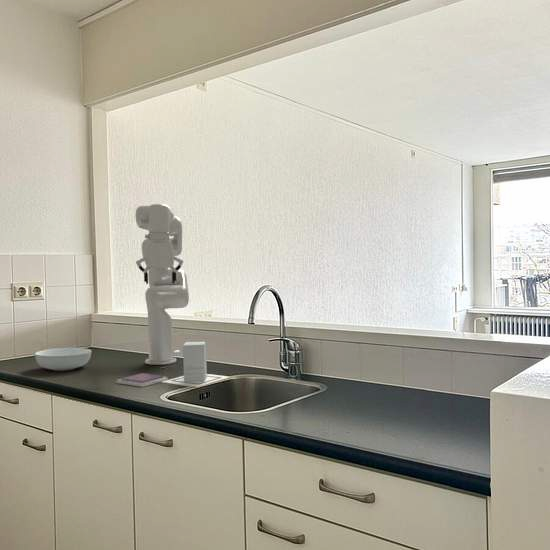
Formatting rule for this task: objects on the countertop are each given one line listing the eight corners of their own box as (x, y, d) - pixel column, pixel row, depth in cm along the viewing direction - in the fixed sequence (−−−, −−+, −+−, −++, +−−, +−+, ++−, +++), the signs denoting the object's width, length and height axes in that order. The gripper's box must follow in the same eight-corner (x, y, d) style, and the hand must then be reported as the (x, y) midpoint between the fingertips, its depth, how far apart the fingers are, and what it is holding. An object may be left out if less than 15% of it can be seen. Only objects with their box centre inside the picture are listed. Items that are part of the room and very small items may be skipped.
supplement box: (207, 376, 203) (206, 341, 202) (204, 381, 195) (204, 344, 195) (186, 377, 203) (185, 341, 202) (183, 381, 195) (182, 344, 195)
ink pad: (142, 376, 206) (142, 372, 206) (167, 380, 199) (167, 375, 199) (117, 383, 196) (116, 378, 196) (142, 386, 189) (142, 382, 189)
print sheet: (195, 373, 211) (195, 372, 211) (230, 377, 202) (230, 376, 202) (161, 382, 195) (161, 381, 195) (197, 387, 187) (197, 386, 187)
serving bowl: (73, 374, 212) (73, 356, 212) (23, 373, 217) (23, 355, 216) (101, 364, 233) (101, 347, 233) (55, 363, 237) (54, 346, 237)
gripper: (135, 237, 207) (136, 284, 208) (183, 237, 211) (184, 283, 212) (135, 238, 215) (136, 283, 215) (182, 237, 218) (183, 282, 219)
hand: (160, 283), depth 213 cm, fingers open, 9 cm apart
